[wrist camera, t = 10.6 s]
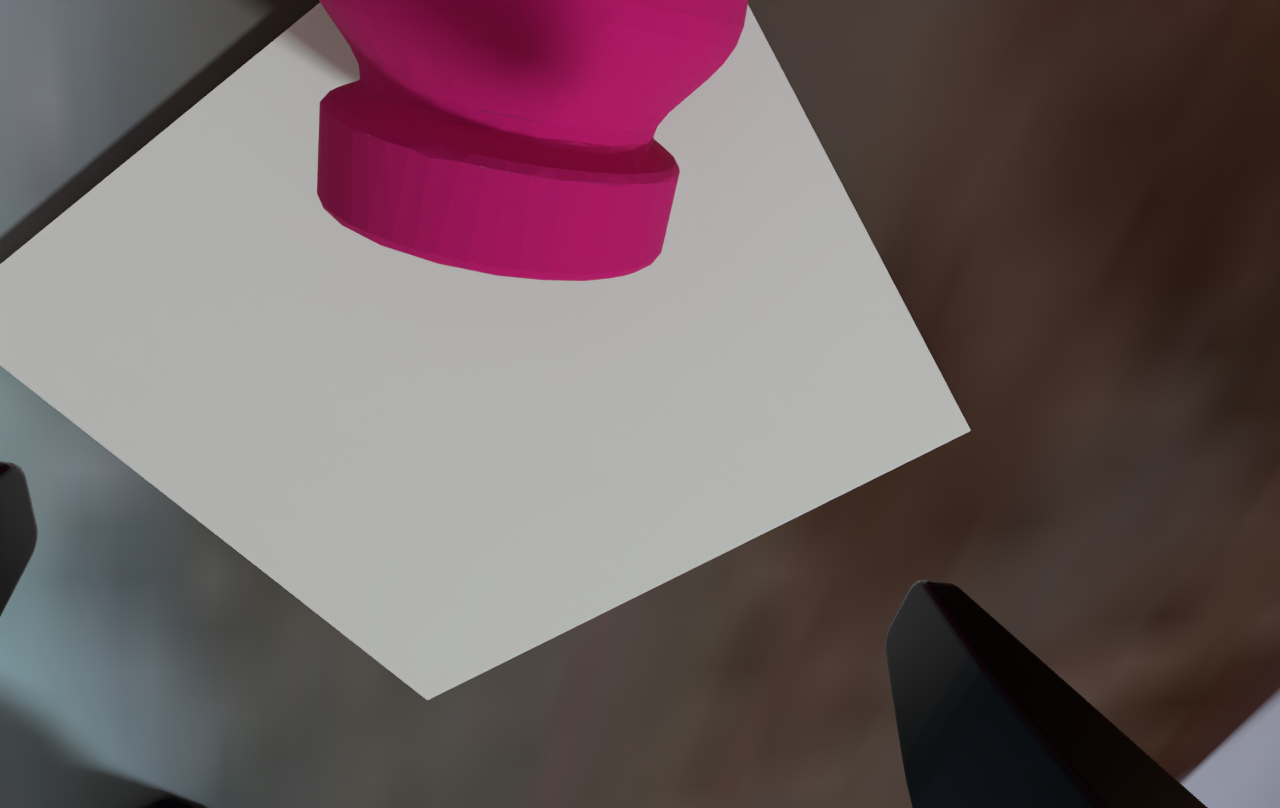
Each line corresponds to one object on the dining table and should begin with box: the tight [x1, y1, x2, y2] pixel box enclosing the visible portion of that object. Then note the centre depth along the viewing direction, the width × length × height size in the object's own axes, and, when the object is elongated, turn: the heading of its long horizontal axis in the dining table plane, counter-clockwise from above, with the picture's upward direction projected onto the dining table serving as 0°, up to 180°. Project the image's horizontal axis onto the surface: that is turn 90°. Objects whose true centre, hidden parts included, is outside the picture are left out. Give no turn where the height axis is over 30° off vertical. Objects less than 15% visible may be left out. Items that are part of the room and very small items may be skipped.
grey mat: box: [0, 3, 971, 700], centre depth 22 cm, size 20×18×1 cm
